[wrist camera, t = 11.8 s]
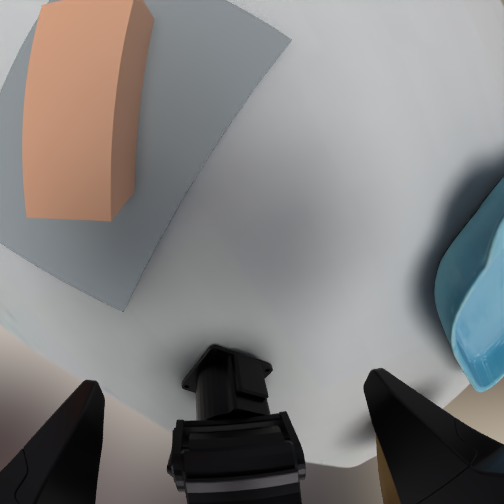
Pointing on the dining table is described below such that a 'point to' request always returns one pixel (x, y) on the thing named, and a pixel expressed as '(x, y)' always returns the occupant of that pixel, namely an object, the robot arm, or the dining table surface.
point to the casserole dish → (476, 293)
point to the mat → (142, 142)
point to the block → (83, 108)
